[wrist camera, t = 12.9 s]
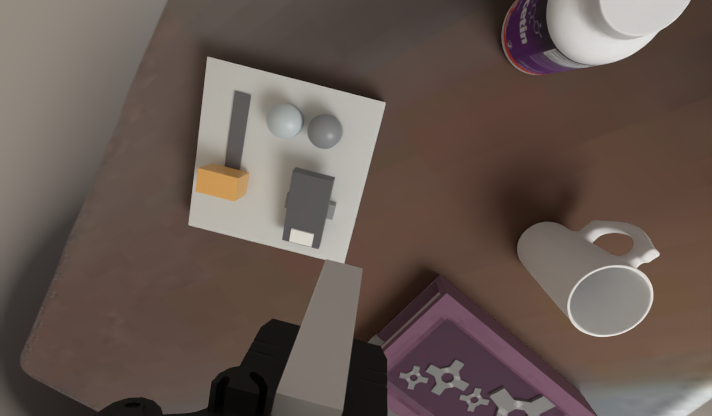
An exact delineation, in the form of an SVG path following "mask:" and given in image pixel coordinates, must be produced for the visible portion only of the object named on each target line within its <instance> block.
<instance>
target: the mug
mask: <svg viewBox="0 0 712 416" xmlns="http://www.w3.org/2000/svg"><path fill="white" fill-rule="evenodd" d="M607 233H622V234H626V235H629V236H630V237H632V239H633V241H634V246H633V248H632V250H631V251H630V252H629V253H627V254H625V255H623V256H614V255H612V254H610V253H608V252H606V251H605V250H603V249H601V248H600V247H598V246H596V245H595V244H593V241H594V240H595V239H597V238H598V237H599V236H601V235H603V234H607ZM517 255H518V258H519V260H520V261H521V263H522V264H523V265H524V266H525V268H526V269H527V270H528V271H529V273H530V274H531V275H532V276H533V277H534V279H535V280H536V281H537V282H538V283H539V284H540V286H541V287H542V288H543V289H544V290H545V292H546V293H547V294H548V295H549V296H550V297H551V299H552V300H553V301H554V302H555V303H556V305H557V306H558V307H559V308H560V309H561V310H562V312H563V313H564V314H565V315H566V316H567V317H568V318H569V319H570V320H571V322H572V324H573V325H574V326H575V327H576V328H577V329H579V330H580V331H582V332H584V333H586V334H589V335H592V336H598V337H608V336H614V335H618V334H621V333H624V332H626V331H628V330H630V329H632V328H633V327H635V326H636V325H638V324H639V323H640V322H641V321H642V320H643V319H644V318H645V316H646V315H647V313H648V312H649V310H650V308H651V305H652V302H653V288H652V285H651V282H650V280H649V279H648V277H647V276H646V275H645V274H644V273H642V272H641V271H639V270H638V269H637V267H638V266H639V265H640V264H642V263H648V262H650V261H652V260H653V259H654V258H656V257H658V256H659V255H660V254H659V252H658V251H657V250H656V249H655V248H654V246H653V244H652V242H651V240H650V238H649V237H648V235H647V234H646V233H645V232H644V231H643V230H642V229H640V228H639V227H637V226H635V225H632V224H629V223H625V222H617V221H601V220H594V221H591V222H590V223H589V224H588V225H587V226H585V227H584V228H583V229H581V230H579V231H576V232H575V231H571V230H569V229H568V228H566V227H564V226H562V225H561V224H558V223H555V222H541V223H537V224H535V225H533V226H531V227H529V228H528V229H527V230H526V231H525V232H524V233H523V234H522V235H521V237H520V239H519V241H518V244H517Z"/></svg>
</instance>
